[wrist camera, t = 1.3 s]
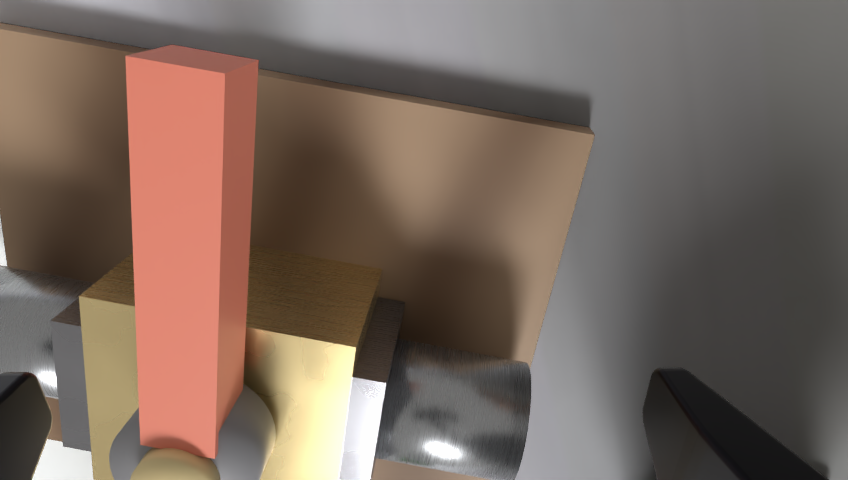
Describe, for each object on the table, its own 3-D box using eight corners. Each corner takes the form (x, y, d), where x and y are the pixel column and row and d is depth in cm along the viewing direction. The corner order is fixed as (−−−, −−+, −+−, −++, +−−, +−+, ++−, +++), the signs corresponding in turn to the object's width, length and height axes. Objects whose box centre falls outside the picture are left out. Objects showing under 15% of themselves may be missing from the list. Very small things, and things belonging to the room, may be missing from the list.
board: (589, 127, 20) (594, 135, 19) (487, 503, 27) (487, 521, 26) (-3, 22, 21) (-25, 24, 20) (44, 420, 28) (29, 435, 27)
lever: (271, 486, 19) (242, 558, 17) (147, 463, 20) (100, 531, 17) (304, 66, 14) (268, 85, 12) (133, 36, 14) (63, 49, 12)
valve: (535, 297, 22) (548, 383, 17) (495, 447, 25) (497, 555, 20) (11, 201, 22) (-110, 261, 18) (31, 361, 25) (-69, 448, 21)
